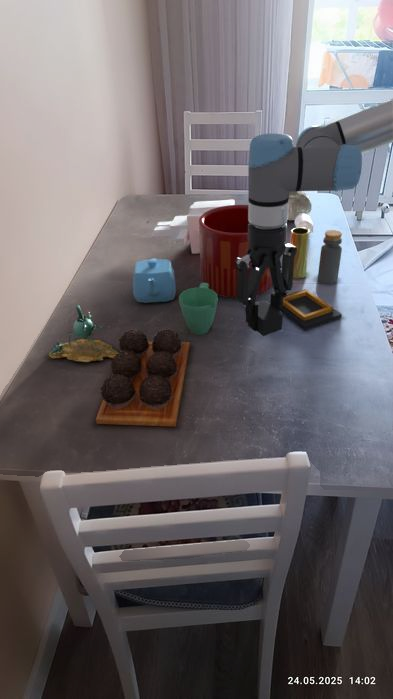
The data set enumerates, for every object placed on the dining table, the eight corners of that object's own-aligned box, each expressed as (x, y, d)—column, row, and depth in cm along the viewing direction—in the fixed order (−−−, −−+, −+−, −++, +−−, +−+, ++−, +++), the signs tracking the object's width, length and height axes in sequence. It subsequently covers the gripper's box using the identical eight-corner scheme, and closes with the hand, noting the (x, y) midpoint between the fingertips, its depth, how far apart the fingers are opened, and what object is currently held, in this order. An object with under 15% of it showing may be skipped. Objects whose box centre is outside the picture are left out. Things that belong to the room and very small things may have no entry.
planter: (251, 259, 160) (253, 199, 148) (291, 288, 143) (297, 223, 131) (188, 275, 152) (185, 213, 140) (222, 308, 135) (222, 240, 123)
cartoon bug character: (59, 340, 126) (53, 290, 117) (125, 351, 124) (124, 301, 115) (43, 361, 118) (35, 310, 109) (113, 373, 116) (111, 322, 108)
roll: (297, 240, 171) (299, 225, 167) (293, 227, 180) (294, 213, 177) (315, 240, 170) (316, 225, 167) (309, 227, 180) (311, 212, 177)
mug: (215, 341, 122) (214, 307, 116) (177, 338, 124) (174, 305, 118) (223, 311, 134) (223, 279, 128) (188, 309, 136) (186, 277, 130)
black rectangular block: (282, 329, 104) (283, 313, 102) (262, 336, 103) (263, 320, 100) (264, 315, 109) (264, 299, 107) (245, 321, 108) (245, 306, 105)
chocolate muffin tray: (176, 427, 98) (173, 396, 93) (96, 424, 100) (89, 394, 95) (189, 347, 121) (187, 318, 116) (124, 346, 122) (120, 318, 117)
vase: (282, 274, 150) (285, 231, 142) (294, 268, 154) (298, 225, 145) (298, 280, 147) (302, 236, 138) (310, 274, 150) (315, 230, 141)
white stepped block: (167, 235, 184) (240, 231, 178) (151, 263, 165) (232, 261, 159) (161, 196, 176) (237, 192, 170) (143, 222, 156) (229, 217, 150)
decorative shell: (317, 222, 183) (320, 196, 177) (273, 228, 181) (274, 202, 175) (299, 207, 198) (301, 182, 192) (258, 212, 195) (259, 187, 189)
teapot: (132, 315, 134) (127, 278, 128) (136, 284, 149) (132, 250, 142) (176, 313, 134) (173, 276, 128) (176, 282, 149) (174, 248, 142)
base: (341, 317, 129) (342, 310, 128) (305, 330, 125) (305, 322, 123) (304, 292, 141) (305, 285, 139) (270, 303, 137) (270, 296, 135)
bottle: (314, 281, 146) (319, 234, 137) (322, 273, 150) (327, 227, 141) (332, 286, 143) (339, 238, 134) (340, 278, 147) (347, 231, 138)
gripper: (294, 207, 98) (287, 305, 112) (217, 226, 92) (219, 328, 105) (317, 218, 93) (307, 320, 106) (237, 239, 86) (237, 345, 100)
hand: (263, 324), depth 106 cm, fingers closed on black rectangular block, 5 cm apart
